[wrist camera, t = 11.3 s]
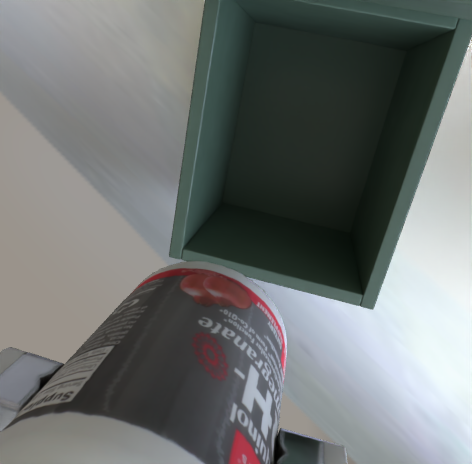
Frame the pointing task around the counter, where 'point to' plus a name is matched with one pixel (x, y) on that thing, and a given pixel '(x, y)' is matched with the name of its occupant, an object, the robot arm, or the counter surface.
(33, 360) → the robot arm
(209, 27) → the chest
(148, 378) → the pill bottle
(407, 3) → the lid
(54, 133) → the counter surface
